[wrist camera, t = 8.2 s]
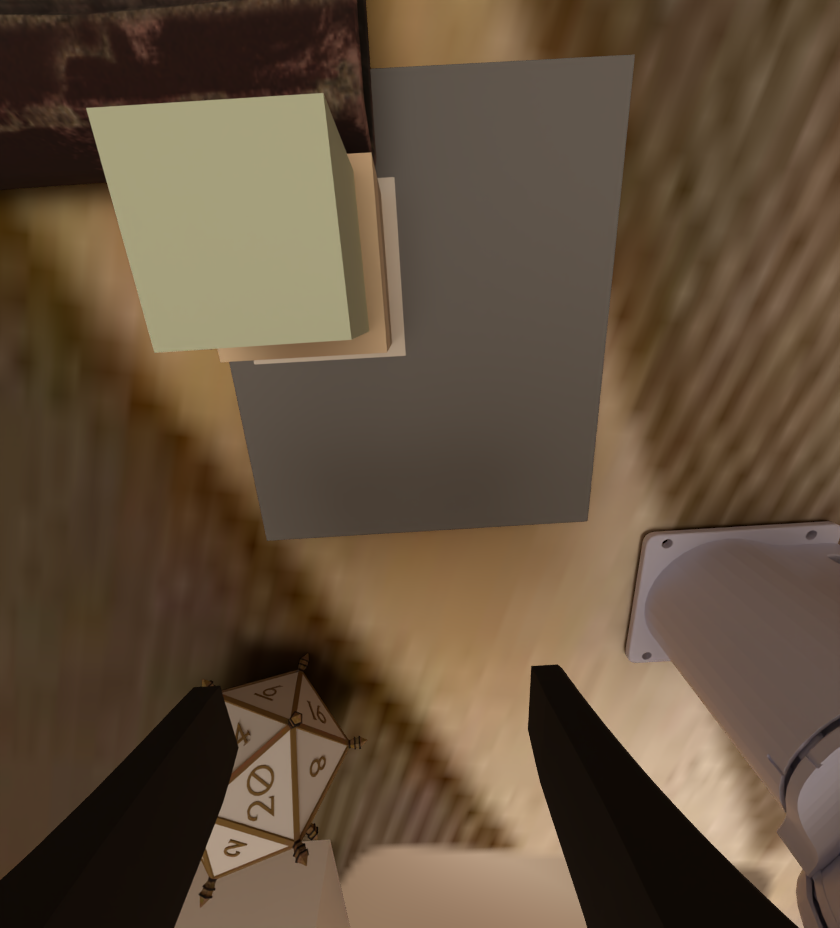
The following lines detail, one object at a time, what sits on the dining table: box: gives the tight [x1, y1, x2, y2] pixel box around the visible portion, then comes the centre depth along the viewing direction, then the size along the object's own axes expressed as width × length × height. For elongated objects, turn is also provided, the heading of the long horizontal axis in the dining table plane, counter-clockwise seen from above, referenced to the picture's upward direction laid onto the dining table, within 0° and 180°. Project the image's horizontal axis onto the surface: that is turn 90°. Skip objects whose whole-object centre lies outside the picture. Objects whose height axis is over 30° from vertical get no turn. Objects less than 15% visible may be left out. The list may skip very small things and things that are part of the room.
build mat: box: [229, 55, 635, 541], centre depth 16 cm, size 15×17×1 cm
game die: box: [199, 653, 367, 908], centre depth 19 cm, size 9×8×10 cm
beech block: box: [218, 153, 392, 362], centre depth 13 cm, size 5×5×4 cm
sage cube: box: [86, 93, 369, 353], centre depth 9 cm, size 4×4×4 cm
